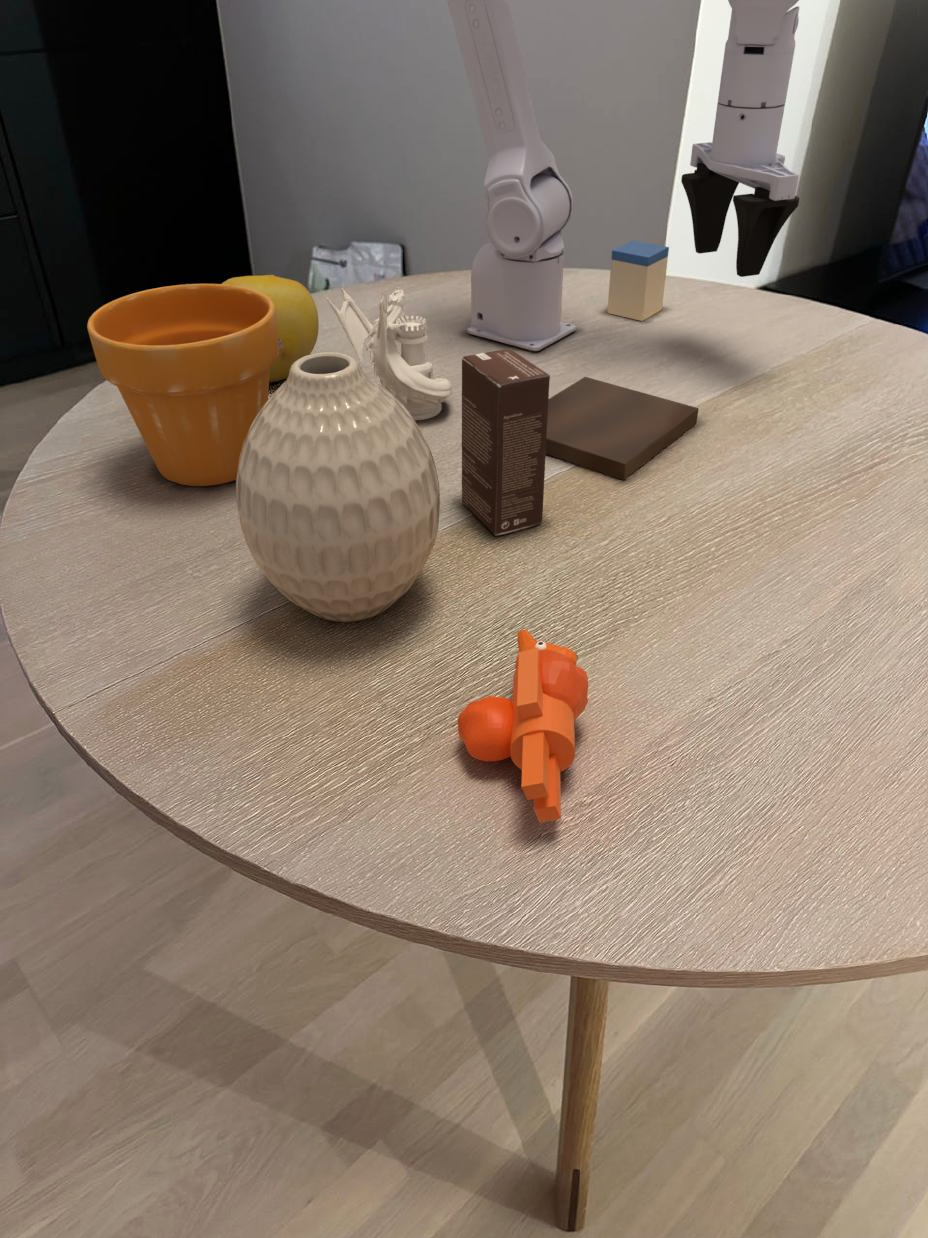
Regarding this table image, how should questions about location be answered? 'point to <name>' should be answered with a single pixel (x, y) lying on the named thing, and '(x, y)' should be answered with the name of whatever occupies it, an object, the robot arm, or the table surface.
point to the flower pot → (190, 372)
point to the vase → (337, 491)
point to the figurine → (396, 353)
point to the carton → (637, 280)
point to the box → (504, 439)
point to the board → (612, 426)
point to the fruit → (286, 318)
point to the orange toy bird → (532, 721)
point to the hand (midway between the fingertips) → (726, 262)
